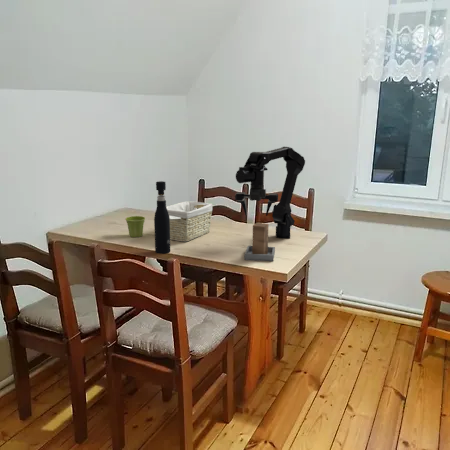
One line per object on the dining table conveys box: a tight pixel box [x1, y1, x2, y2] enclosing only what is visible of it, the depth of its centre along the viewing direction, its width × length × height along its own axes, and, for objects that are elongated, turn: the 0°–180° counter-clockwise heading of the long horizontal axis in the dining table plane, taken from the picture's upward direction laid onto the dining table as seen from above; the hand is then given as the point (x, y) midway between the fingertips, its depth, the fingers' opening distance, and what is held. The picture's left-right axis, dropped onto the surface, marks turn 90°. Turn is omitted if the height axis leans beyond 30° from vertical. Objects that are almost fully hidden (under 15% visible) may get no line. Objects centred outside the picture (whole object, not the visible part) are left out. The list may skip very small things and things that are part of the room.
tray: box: [244, 245, 276, 262], centre depth 188 cm, size 12×12×2 cm
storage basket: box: [166, 200, 213, 243], centre depth 217 cm, size 24×16×15 cm
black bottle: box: [153, 180, 171, 255], centre depth 190 cm, size 6×6×30 cm
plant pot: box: [124, 215, 146, 238], centre depth 217 cm, size 9×9×9 cm
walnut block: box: [251, 222, 269, 254], centre depth 186 cm, size 5×5×13 cm
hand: (256, 215), depth 202 cm, fingers open, 9 cm apart
